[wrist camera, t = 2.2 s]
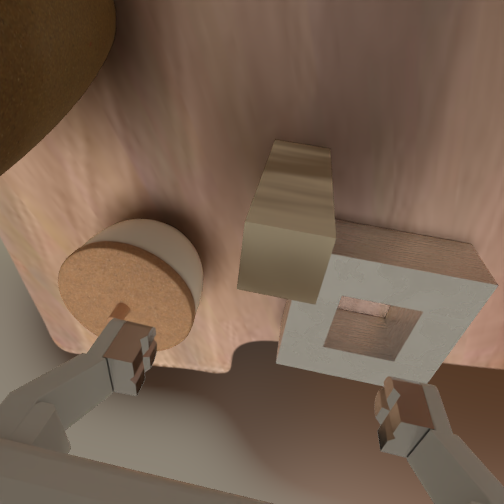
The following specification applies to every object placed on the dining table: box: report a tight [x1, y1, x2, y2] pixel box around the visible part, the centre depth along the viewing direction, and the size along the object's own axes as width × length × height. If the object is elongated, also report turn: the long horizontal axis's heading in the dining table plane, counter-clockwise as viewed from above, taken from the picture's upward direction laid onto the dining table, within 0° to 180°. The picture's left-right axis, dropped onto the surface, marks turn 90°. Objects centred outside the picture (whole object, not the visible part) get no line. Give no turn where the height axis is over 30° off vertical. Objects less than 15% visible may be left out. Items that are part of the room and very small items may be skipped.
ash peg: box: [237, 139, 336, 305], centre depth 21 cm, size 4×4×12 cm
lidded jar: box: [58, 219, 203, 351], centre depth 28 cm, size 11×11×9 cm
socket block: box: [276, 219, 498, 386], centre depth 29 cm, size 13×13×5 cm
